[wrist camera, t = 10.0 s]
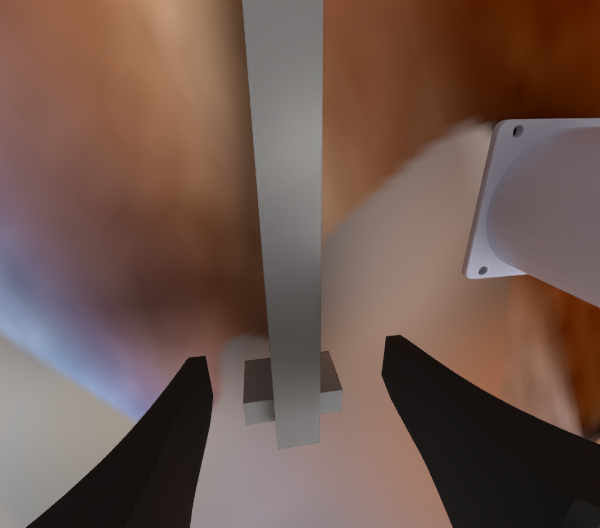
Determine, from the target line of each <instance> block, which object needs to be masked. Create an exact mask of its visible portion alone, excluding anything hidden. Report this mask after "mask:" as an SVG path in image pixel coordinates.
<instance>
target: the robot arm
mask: <svg viewBox="0 0 600 528" xmlns="http://www.w3.org/2000/svg"><path fill="white" fill-rule="evenodd" d="M515 127H516V133H515V135H514V136H513V130H514V128H515ZM481 267H482V269H481V270H480V271H479V269H480V268H481ZM462 273H463V275H464V276H466V277H467V278H469V279H480V278H491V277H502V276H513V275H524V274H529V275H531V276H533V277H535V278H537V279H539V280H542V281H544V282H546V283H548V284H550V285H552V286H554V287H556V288H559V289H561V290H563V291H565V292H567V293H569V294H571V295H573V296H575V297H578V298H580V299H582V300H584V301H586V302H588V303H590V304H592V305H594V306H597V307H599V308H600V118H567V119H509V120H503V121H500V122H499V123H497V125H496V126H495V127H494V130H493V133H492V137H491V142H490V147H489V151H488V156H487V160H486V165H485V169H484V174H483V178H482V183H481V187H480V192H479V197H478V201H477V205H476V211H475V215H474V219H473V224H472V228H471V233H470V237H469V242H468V246H467V251H466V255H465V260H464V265H463V269H462ZM382 377H383V380H384V383H385V385H386V388H387V390H388V393H389V395H390V398H391V400H392V402H393V404H394V406H395V407H396V409H397V411H398V413H399V415H400V417H401V419H402V421H403V422H404V424H405V426H406V428H407V430H408V432H409V433H410V435H411V437H412V439H413V441H414V443H415V444H416V446H417V448H418V450H419V452H420V454H421V456H422V458H423V460H424V462H425V464H426V466H427V468H428V470H429V472H430V475H431V476H432V479H433V481H434V484H435V486H436V488H437V490H438V493H439V495H440V498H441V500H442V502H443V505H444V507H445V510H446V512H447V514H448V517H449V519H450V522H451V524H452V527H453V528H600V444H597V443H595V442H592V441H590V440H587V439H585V438H582V437H580V436H577V435H575V434H573V433H570V432H568V431H565V430H563V429H561V428H558V427H556V426H554V425H551V424H549V423H547V422H545V421H543V420H540V419H538V418H536V417H534V416H532V415H530V414H528V413H526V412H523V411H521V410H519V409H517V408H515V407H513V406H511V405H510V404H508V403H506V402H504V401H502V400H500V399H498V398H496V397H495V396H493V395H491V394H489V393H487V392H486V391H484V390H482V389H480V388H479V387H477V386H475V385H474V384H472V383H471V382H469V381H467V380H466V379H464V378H462V377H461V376H459V375H458V374H456V373H455V372H453V371H452V370H450V369H449V368H447V367H445V366H444V365H443V364H441V363H440V362H438V361H437V360H435V359H434V358H433V357H431V356H430V355H428V354H427V353H425V352H424V351H423V350H421V349H420V348H418V347H417V346H416V345H414V344H413V343H411V342H410V341H408V340H407V339H406V338H404V337H403V336H401V335H396V336H386V341H385V351H384V359H383V367H382ZM212 403H213V392H212V387H211V382H210V376H209V371H208V366H207V361H206V356H200V357H191V358H188V359H187V360H186V362H185V363H184V364H183V366H182V367H181V369H180V370H179V371H178V373H177V374H176V375H175V377H174V378H173V379H172V381H171V382H170V383H169V385H168V386H167V387H166V389H165V390H164V391H163V392H162V394H161V395H160V396H159V397H158V399H157V400H156V401H155V403H154V404H153V405H152V406H151V407H150V409H149V410H148V411H147V412H146V413H145V414H144V416H143V417H142V418H141V419H140V420H139V421H138V423H137V424H136V425H135V426H134V427H133V428H132V430H131V431H130V432H129V433H128V434H127V435H126V436H125V437H124V438H123V439H122V441H120V442H119V444H118V445H117V446H116V447H115V448H114V449H113V450H112V451H111V452H110V453H109V454H108V455H107V456H106V457H105V458H104V459H103V460H102V461H101V462H100V463H99V464H98V465H97V466H96V467H94V469H92V470H91V471H90V472H89V473H88V474H87V475H86V476H85V477H84V478H83V479H82V480H81V481H79V483H77V484H76V485H75V486H74V487H73V488H72V489H71V490H70V491H68V492H67V493H66V494H65V495H64V496H63V497H62V498H61V499H59V500H58V501H57V502H56V503H55V504H54V505H52V506H51V507H50V508H49V509H48V510H46V511H45V512H44V513H43V514H42V515H41V516H40V517H38V518H37V519H36V520H35V521H33V522H32V523H31V524H30V525H28V526H27V527H26V528H190V522H191V514H192V508H193V502H194V497H195V491H196V486H197V482H198V477H199V473H200V468H201V464H202V459H203V455H204V450H205V445H206V441H207V436H208V432H209V427H210V422H211V413H212Z"/></svg>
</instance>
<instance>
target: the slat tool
mask: <svg viewBox="0 0 600 528" xmlns="http://www.w3.org/2000/svg"><path fill="white" fill-rule="evenodd" d="M242 6H243V19H244V31H245V44H246V56H247V69H248V81H249V94H250V106H251V119H252V132H253V144H254V157H255V169H256V182H257V194H258V207H259V219H260V232H261V245H262V257H263V270H264V282H265V295H266V307H267V320H268V332H269V345H270V357H271V358H265V359H256V360H248V361H245V373H244V397H243V406H244V413H245V421H246V425H251V424H257V423H264V422H271V421H276V432H277V446H278V449H283V448H290V447H296V446H302V445H309V444H315V443H320V414H325V413H332V412H339V411H342V394H343V389H342V387H341V385H340V381H339V378H338V375H337V373H336V370H335V367H334V364H333V362H332V359H331V356H330V353H329V351H324V352H321V227H322V95H323V0H242Z"/></svg>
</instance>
